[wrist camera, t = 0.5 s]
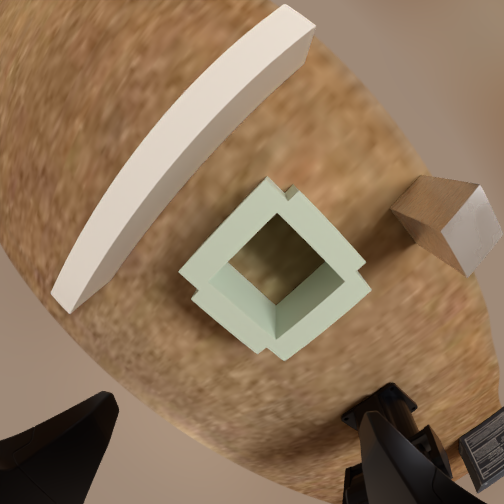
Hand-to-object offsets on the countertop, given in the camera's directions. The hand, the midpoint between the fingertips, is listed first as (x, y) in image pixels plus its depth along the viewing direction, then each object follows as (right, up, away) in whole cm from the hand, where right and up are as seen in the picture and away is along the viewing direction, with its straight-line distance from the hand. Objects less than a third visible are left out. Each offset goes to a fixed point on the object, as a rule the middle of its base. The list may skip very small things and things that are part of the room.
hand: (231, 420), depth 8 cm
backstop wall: (-4, +11, +10) cm, 16 cm away
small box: (+38, -22, +18) cm, 47 cm away
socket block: (+2, +5, +12) cm, 13 cm away
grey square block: (+13, +9, +10) cm, 18 cm away
